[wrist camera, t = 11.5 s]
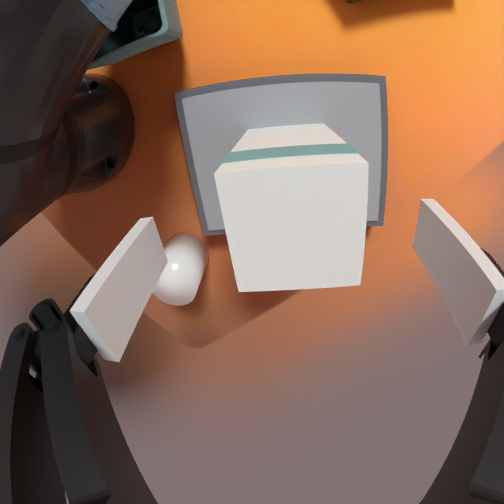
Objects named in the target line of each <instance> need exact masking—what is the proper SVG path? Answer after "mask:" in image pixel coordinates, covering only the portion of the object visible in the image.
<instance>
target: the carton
mask: <svg viewBox="0 0 504 504" xmlns="http://www.w3.org/2000/svg"><path fill="white" fill-rule="evenodd" d="M345 1H346V2H347V3H348V2H349V3H353V2H357V1H361V0H345Z"/></svg>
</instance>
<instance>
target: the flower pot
mask: <svg viewBox="0 0 504 504" xmlns="http://www.w3.org/2000/svg"><path fill="white" fill-rule="evenodd" d="M151 11H154V14H153V15H150V12H151ZM140 28H143V30H142V31H141V32H140V31H139V29H140ZM181 37H182V28H181V23H180V18H179V14H178V9H177V3H176V0H133V1H132V2H131V3H130V5H129V6H128V7H127V9H126V10H125V12H124V13H123V15H122V16H121V18H120V19H119V21H118V22H117V28H116V30H115V31H114V32H112V31H111V32H110V34H109V35H108V36H107V38H106V39H105V41H104V43H103V44H102V46H101V47H100V49H99V50H98V52H97V54H96V55H95V57H94V59H93V60H92V62H91V64H90V65H89V67H88V69H93V68H97V67H102V66H106V65H111V64H114V63H117V62H120V61H122V60H125V59H127V58H129V57H131V56H134V55H136V54H138V53H141V52H143V51H146V50H148V49H151V48H154V47H156V46H159V45H162V44H165V43H168V42H171V41H174V40H177V39H180V38H181ZM88 69H87V70H88Z"/></svg>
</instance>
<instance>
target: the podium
mask: <svg viewBox="0 0 504 504" xmlns="http://www.w3.org/2000/svg"><path fill="white" fill-rule="evenodd" d="M174 98H175V103H176V109H177V114H178V119H179V125H180V130H181V135H182V140H183V145H184V150H185V155H186V159H187V164H188V169H189V173H190V178H191V183H192V187H193V192H194V196H195V200H196V205H197V209H198V213H199V218H200V222H201V226H202V230H203V234H204V236H210V235H224V234H226V231H225V226H224V222H223V217H222V212H221V207H220V202H219V197H218V192H217V187H216V182H215V177H214V174H215V172H216V171H217V169H218V168H219V167H220V165H221V162H222V160H223V159H224V158H225V157H226V155H227V154H228V153H229V152H231V151H232V149H233V148H234V147H235V145H236V144H237V143H238V142H239V140H240V139H241V138H242V136H243V135H244V134H245V133H246V131H247V130H248V129H257V128H266V127H277V126H289V125H304V124H325V125H326V126H327V127H329V128H330V129H331V130H332V131H333V132H335V133H336V134H337V135H338V136H339V137H340V138H342V139H343V140H344V141H345V142H346V143H349V144H350V145H351V146H352V147H353V148H355V149H356V150H357V151H358V152H359V155H360V156H361V157H363V158H364V159H365V160H366V161H367V162H368V163H369V169H368V204H367V221H366V226H383V220H384V210H385V198H386V183H387V160H388V114H387V92H386V78H385V76H376V75H360V74H296V75H281V76H269V77H259V78H251V79H243V80H236V81H229V82H223V83H217V84H212V85H207V86H201V87H197V88H192V89H187V90H183V91H179V92H175V93H174Z"/></svg>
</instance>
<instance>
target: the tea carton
mask: <svg viewBox="0 0 504 504" xmlns="http://www.w3.org/2000/svg"><path fill="white" fill-rule="evenodd" d="M368 169H369V163H368V162H367V161H366V160H365V159H364V158H363V157H361V156H360V155H359V152H358V151H357V150H356V149H355V148H353V147H352V146H351V145H350V144H349V143H346V142H345V141H344V140H343V139H342V138H340V137H339V136H338V135H337V134H336V133H335V132H333V131H332V130H331V129H330V128H329V127H327V126H326V125H325V124H304V125H289V126H277V127H266V128H257V129H248V130H247V131H246V133H245V134H244V135H243V136H242V138H241V139H240V140H239V142H238V143H237V144H236V145H235V147H234V148H233V149H232V151H231V152H229V153H228V154H227V155H226V157H225V158H224V159H223V160H222V162H221V165H220V167H219V168H218V169H217V171H216V172H215V174H214V177H215V182H216V187H217V192H218V197H219V202H220V207H221V212H222V217H223V222H224V226H225V231H226V236H227V241H228V245H229V250H230V255H231V259H232V264H233V269H234V273H235V278H236V282H237V287H238V291H239V292H254V291H277V290H296V289H313V288H328V287H341V286H354V285H360V282H361V275H362V266H363V257H364V247H365V235H366V221H367V204H368Z"/></svg>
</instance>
